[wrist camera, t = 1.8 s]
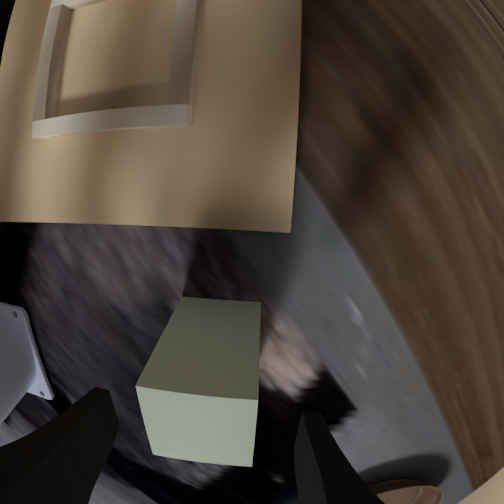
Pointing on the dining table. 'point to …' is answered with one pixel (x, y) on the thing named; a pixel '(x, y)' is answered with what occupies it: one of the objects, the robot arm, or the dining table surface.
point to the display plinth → (151, 113)
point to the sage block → (204, 383)
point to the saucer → (407, 492)
